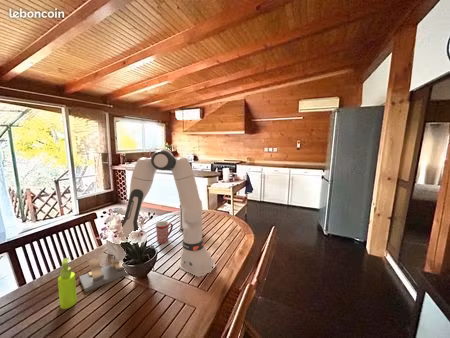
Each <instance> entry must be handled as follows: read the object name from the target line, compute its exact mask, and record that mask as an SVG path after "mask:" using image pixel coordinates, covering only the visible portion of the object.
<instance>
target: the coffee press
mask: <svg viewBox="0 0 450 338" xmlns="http://www.w3.org/2000/svg"><path fill="white" fill-rule="evenodd" d="M183 221H184V217H183V213H182V209H181V204H180V203H179V227H180V228H179V230H178V231H179V232H183Z"/></svg>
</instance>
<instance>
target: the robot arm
mask: <svg viewBox="0 0 450 338" xmlns="http://www.w3.org/2000/svg"><path fill="white" fill-rule="evenodd" d="M158 170H159V171H170V172H171V173H172V175H173V179H174V183H175V187H176V189H177V194H178V199H179V205H180V204H181V209H182V213H183V217H184V221H183V230H182V234H183V236H182V237H183V238H182V242H181V243H182V245H181V246H182V250H181V254H180V262H179V264H178V269H180V270H183V271H184V272H186V273H188V272H189V273H188V274H190V273H191V274H190V275H192V274H193V275H192V276H194V275H195V276H194V277H196V276H197V277H196V278H201V277H200V276H202V277H204V276H203V275H205V276H207V275H208V274H207V273H209V272H210V271H212V270H213V269H214V268H215V266H216V263H214V262H213V261H212V260H213V259H212V255H211V252H210V251H208V250H207V249H206V246H205V244H206V243H205V242H204V239H203V212H204V211H203V203H202V200H201V198H200V193H199V190H198V189H199V188H198V186H197V182H196V179H195V174H194V171H193V168H192V165H191V163H190V162H189V160H188V158H186V157H183V156H181V157H175V155H174V153H173V152H172V151H171V150H169V149H165V148H161V149H157V150H156V151H154V152H153V153H152V155H151V157H139V158H138V159H137V160H136V162H135V165H134V167H133V171H132V173H131V179H130V183H129V184H130V187H129V196H128V202H127V207H126V209H124V208H122V207H115V208H112V209H113V210H114V211H113V212H114V213H120V214H121V215H125V217H124V220H123V221H122V227H123V233H124V235H125V237H126V239H128V237H129V234H130V233H131V232H132V231H136V230H138V228H139V227H138V222H137V220H138V216H141V217H142V215H141V214H140V211H141V208H142V204H143V201H145V198H146V197H147V195H148V193H149V192H150V190H151V189H152V185H153V182H154V177H155V174H156V172H157V171H158ZM105 243H106V247H108V248H109V249H110V251H111V252H112V254H113V255H112V259H114V260H115V262H119V261H120V260H123V259H124V258H125V259H126V257H125V256H126V250H125V251H124V249H123V248H122V247H121V246H120V244H115V243H112V242H110V241H108V240H106V239H105ZM212 267H214V268H212ZM216 267H217V266H216ZM215 269H216V268H215ZM215 269H214V270H215ZM214 270H213V271H214ZM213 271H212V272H213ZM206 274H207V275H206ZM209 274H210V273H209Z"/></svg>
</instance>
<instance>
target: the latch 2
mask: <svg viewBox="0 0 450 338" xmlns="http://www.w3.org/2000/svg"><path fill="white" fill-rule="evenodd" d="M110 261H111V264H112V263H113V265H114V266H115V268H116V269H117V272H118V271H121V270H123V269H124V268H123V266H122V264H123V262H122V260H120V261H119V262H115V260H114V259H113V258H112V259H111V260H110Z"/></svg>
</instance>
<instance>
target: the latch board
mask: <svg viewBox="0 0 450 338" xmlns="http://www.w3.org/2000/svg"><path fill="white" fill-rule="evenodd" d="M101 271H102V274H103V275H104V278H102V279H99V280H97V281H94V282H93V276H92V273H91V271H88V272H87V273H85V274H84V273H83V274H82V275H79V282H80V284H81V286H82V288H83V291H84V293H88V292H90V291H92V290H94V289H97V288H99V287H102V286H104V285H105V284H109V283H111V282H112V281H115V280H117V279H119V278H122V277H124V276H126V275H128V274H127V273H126V272H125V270H124V269H123V270H121V271H118V272H117V269H116V268H115V266H114V265H113V263H112V262H111V263H110V264H108V265H105V266H103V267H101Z"/></svg>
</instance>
